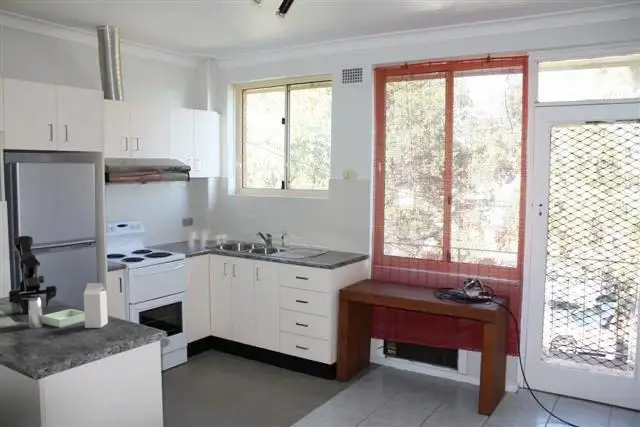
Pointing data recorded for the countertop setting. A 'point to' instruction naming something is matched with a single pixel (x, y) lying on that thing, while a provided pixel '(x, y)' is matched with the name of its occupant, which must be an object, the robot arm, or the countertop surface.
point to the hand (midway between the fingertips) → (35, 309)
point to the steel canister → (35, 312)
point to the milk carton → (95, 305)
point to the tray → (64, 318)
